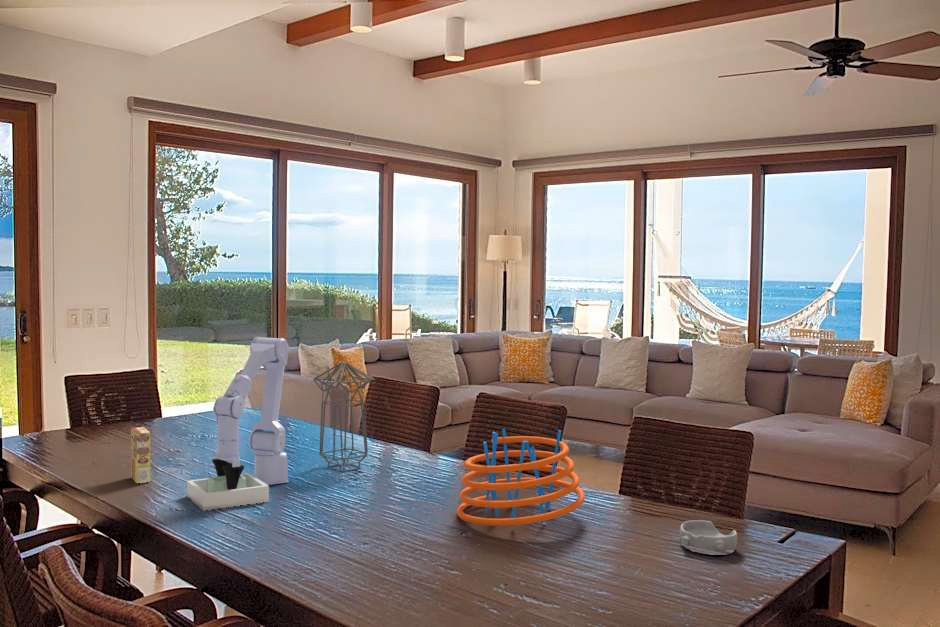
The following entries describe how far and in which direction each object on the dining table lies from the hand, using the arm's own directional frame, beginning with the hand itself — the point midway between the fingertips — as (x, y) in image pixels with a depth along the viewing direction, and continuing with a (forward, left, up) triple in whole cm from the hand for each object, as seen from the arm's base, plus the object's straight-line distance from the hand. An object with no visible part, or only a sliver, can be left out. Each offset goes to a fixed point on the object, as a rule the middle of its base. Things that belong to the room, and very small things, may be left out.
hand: (227, 487), depth 229 cm
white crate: (0, 0, -3) cm, 3 cm away
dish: (-87, +96, -4) cm, 130 cm away
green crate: (0, 0, -2) cm, 2 cm away
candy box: (+16, -32, -4) cm, 36 cm away
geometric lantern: (-44, -18, -4) cm, 48 cm away
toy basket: (-62, +54, -4) cm, 82 cm away
